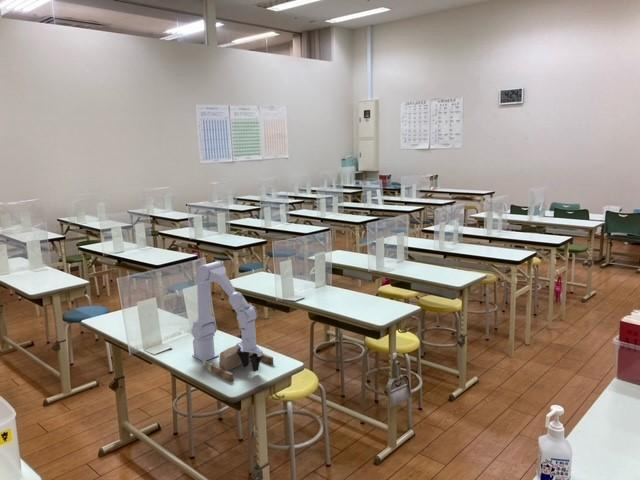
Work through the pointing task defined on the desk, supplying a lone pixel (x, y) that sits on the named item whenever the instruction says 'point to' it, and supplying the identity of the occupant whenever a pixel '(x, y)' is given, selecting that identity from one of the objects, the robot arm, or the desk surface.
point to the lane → (227, 374)
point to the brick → (230, 358)
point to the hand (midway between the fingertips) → (250, 368)
